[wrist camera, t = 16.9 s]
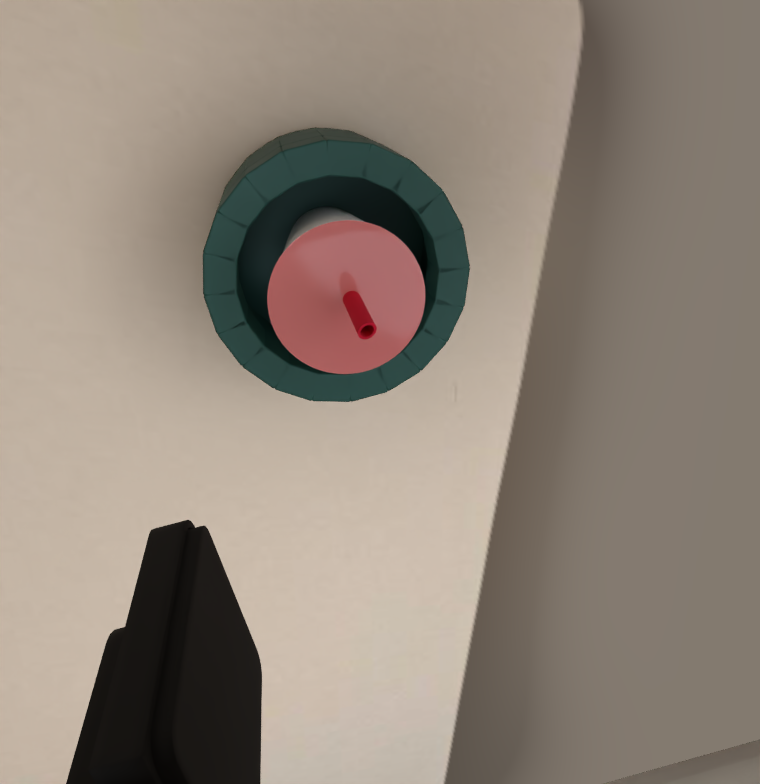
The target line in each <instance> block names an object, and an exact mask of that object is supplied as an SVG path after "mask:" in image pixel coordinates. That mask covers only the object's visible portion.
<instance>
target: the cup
mask: <svg viewBox="0 0 760 784" xmlns="http://www.w3.org/2000/svg"><path fill="white" fill-rule="evenodd" d="M267 304H268V312H269V317H270V320H271V323H272V326H273V329H274V331H275V333H276V335H277V336H278V338H279V340H280V341H281V343H282V344H283V345H284V346H285V348H286V349H287V350H288V351H289V352H290V353H291V354H292V355H293V356H295V357H296V358H297V359H299V360H300V361H302V362H303V363H305V364H307V365H309V366H311V367H313V368H315V369H318V370H321V371H325V372H329V373H336V374H353V373H360V372H364V371H368V370H371V369H374V368H376V367H379V366H381V365H383V364H384V363H386V362H388V361H389V360H391V359H392V358H394V357H395V356H396V355H397V354H399V353H400V352H401V351H402V350H403V349H404V348H405V347H406V346H407V344H408V343H409V342H410V340H411V339H412V338H413V336H414V334H415V333H416V331H417V329H418V327H419V324H420V322H421V319H422V316H423V312H424V307H425V284H424V279H423V275H422V272H421V269H420V266H419V264H418V262H417V260H416V258H415V257H414V255H413V254H412V252H411V251H410V249H409V248H408V247H407V246H406V245H405V244H404V243H403V242H402V241H401V240H400V239H399V238H398V237H396V236H395V235H394V234H392V233H391V232H389V231H387V230H386V229H384V228H382V227H379V226H377V225H374V224H371V223H367V222H364V221H362V220H361V219H359V218H357V217H355V216H353V215H352V214H350V213H348V212H345V211H343V210H341V209H338V208H335V207H318V208H314V209H312V210H310V211H308V212H306V213H305V214H303V215H302V216H301V217H300V218H299V219H298V220H297V221H296V223H295V224H294V226H293V228H292V230H291V233H290V235H289V237H288V240H287V242H286V245H285V248H284V251H283V253H282V255H281V256H280V258H279V259H278V261H277V263H276V265H275V267H274V269H273V272H272V274H271V277H270V281H269V286H268V294H267Z"/></svg>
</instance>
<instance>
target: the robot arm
mask: <svg viewBox="0 0 760 784" xmlns="http://www.w3.org/2000/svg"><path fill="white" fill-rule="evenodd" d="M261 697H262V671H261V664H260V659H259V655H258V652H257V649H256V646H255V644H254V641H253V639H252V636H251V634H250V632H249V629H248V627H247V624H246V622H245V619H244V617H243V614H242V612H241V609H240V607H239V604H238V602H237V599H236V597H235V595H234V592H233V590H232V587H231V585H230V582H229V580H228V577H227V575H226V572H225V570H224V567H223V565H222V562H221V560H220V557H219V555H218V553H217V550H216V548H215V545H214V543H213V540H212V538H211V535H210V533H209V531H208V529H207V528H206V526H200V527H197V528H195V526H194V525H193V523H192V522H191V521H189V520H186V521H182V522H178V523H174V524H170V525H167V526H163V527H159V528H155V529H153V530H151V532H150V534H149V537H148V541H147V545H146V549H145V552H144V556H143V560H142V564H141V568H140V572H139V576H138V579H137V583H136V587H135V591H134V595H133V599H132V603H131V607H130V610H129V614H128V618H127V622H126V626H125V627H123V628H120V629H116V630H114V631H113V632H112V633H111V634H110V636H109V638H108V640H107V643H106V646H105V649H104V653H103V656H102V660H101V663H100V667H99V670H98V674H97V677H96V681H95V684H94V688H93V691H92V695H91V698H90V702H89V705H88V709H87V712H86V716H85V720H84V723H83V727H82V730H81V734H80V737H79V741H78V744H77V748H76V751H75V755H74V758H73V762H72V765H71V769H70V772H69V776H68V779H67V783H66V784H260V762H261ZM604 784H760V740H757V741H753V742H749V743H746V744H742V745H739V746H736V747H732V748H728V749H725V750H721V751H718V752H714V753H710V754H707V755H703V756H700V757H696V758H693V759H689V760H686V761H682V762H678V763H675V764H672V765H668V766H664V767H661V768H657V769H654V770H650V771H646V772H643V773H639V774H636V775H632V776H629V777H625V778H622V779H618V780H615V781H611V782H608V783H604Z"/></svg>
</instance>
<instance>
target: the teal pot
mask: <svg viewBox="0 0 760 784" xmlns="http://www.w3.org/2000/svg"><path fill="white" fill-rule="evenodd" d="M318 207H335V208H338V209H341V210H343V211H345V212H348V213H350V214H352V215H353V216H355V217H357V218H359V219H361V220H362V221H364V222H367V223H371V224H374V225H377V226H379V227H382V228H384V229H386V230H387V231H389V232H391V233H392V234H394V235H395V236H396V237H398V238H399V239H400V240H401V241H402V242H403V243H404V244H405V245H406V246H407V247H408V248H409V249H410V251H411V252H412V254H413V255H414V257H415V258H416V260H417V262H418V264H419V266H420V269H421V272H422V275H423V279H424V284H425V307H424V312H423V316H422V319H421V322H420V324H419V327H418V329H417V331H416V333H415V334H414V336H413V338H412V339H411V340H410V342H409V343H408V344H407V346H406V347H405V348H404V349H403V350H402V351H401V352H400V353H399V354H397V355H396V356H395V357H394V358H392V359H391V360H389V361H388V362H386V363H384V364H383V365H381V366H379V367H376V368H374V369H371V370H368V371H364V372H360V373H353V374H336V373H329V372H325V371H321V370H318V369H315V368H313V367H311V366H309V365H307V364H305V363H303V362H302V361H300V360H299V359H297V358H296V357H295V356H293V355H292V354H291V353H290V352H289V351H288V350H287V349H286V348H285V346H284V345H283V344H282V343H281V341H280V340H279V338H278V336H277V335H276V333H275V331H274V329H273V326H272V323H271V320H270V317H269V312H268V304H267V294H268V286H269V281H270V277H271V274H272V272H273V269H274V267H275V265H276V263H277V261H278V259H279V258H280V256H281V255H282V253H283V251H284V248H285V245H286V242H287V240H288V237H289V235H290V233H291V230H292V228H293V226H294V224H295V223H296V221H297V220H298V219H299V218H300V217H301V216H302V215H303V214H305V213H306V212H308V211H310V210H312V209H314V208H318ZM203 252H204V253H203V294H204V298H205V301H206V304H207V307H208V310H209V313H210V316H211V318H212V321H213V324H214V327H215V330H216V332H217V334H218V336H219V337H220V339H221V340H222V341H223V343H224V344H225V345H226V346H227V348H228V349H229V350H230V352H231V353H232V354H233V356H234V357H235V358H236V359H237V361H238V362H239V363H240V365H243V368H245V369H246V370H248V371H249V372H251V373H252V374H254V375H255V376H256V377H258V378H259V379H261V380H262V381H264V382H265V383H266V384H268V385H269V386H271V387H272V388H275V389H276V390H279V391H282V392H285V393H288V394H291V395H294V396H298V397H301V398H304V399H307V400H310V401H311V400H312V401H338V402H350V401H356V400H359V399H363V398H367V397H370V396H374V395H378V394H381V393H385V392H387V391H389V390H391V389H393V388H394V387H396V386H398V385H399V384H401V383H403V382H404V381H406V380H407V379H409V378H411V377H412V376H414V375H416V374H417V373H419V372H420V370H423V368H424V367H425V366H426V365H427V364H428V363H429V362H430V361H431V360H432V359H433V357H434V356H435V355H436V354H437V353H438V352H439V351H440V350H441V349H442V347H443V346H444V345H445V344H446V342H447V341H448V340H449V338H450V335H451V333H452V331H453V329H454V327H455V325H456V323H457V321H458V319H459V316H460V314H461V312H462V310H463V307H464V305H465V298H466V291H467V284H468V277H469V270H470V268H469V266H470V265H469V259H468V254H467V248H466V242H465V236H464V231H463V228H462V224H461V223H460V221H459V219H458V217H457V215H456V213H455V211H454V210H453V208H452V206H451V204H450V202H449V200H448V198H447V197H446V195H445V193H444V191H442V189H441V188H440V187H439V186H438V185H437V184H436V183H435V182H434V181H433V180H432V179H431V178H430V177H428V176H427V175H426V174H425V173H424V172H423V171H422V170H421V169H420V168H419V167H418V166H417V165H416V164H414V163H413V162H412V161H410V160H409V159H407V158H405V157H404V156H402V155H400V154H398V153H396V152H394V151H393V150H391V149H389V148H387V147H385V146H384V145H382V144H379V143H377V142H375V141H373V140H370V139H368V138H366V137H364V136H361V135H359V134H357V133H355V132H352V131H348V130H340V129H330V128H310V129H306V130H300V131H295V132H292V133H289V134H286V135H283V136H279V137H277V138H276V139H274V140H273V141H271V142H269V143H267V144H266V145H264V146H263V147H261V148H260V149H258V150H257V151H255V152H254V153H253V154H252V155H250V156H249V157H248V158H247V159H246V160H245V161H244V163H243V164H242V165H241V166H240V168H239V169H238V170H237V171H236V172H235V174H234V176H233V177H232V178H231V180H230V181H229V182H228V184H227V185H226V187H225V190H224V192H223V195H222V198H221V201H220V203H219V206H218V209H217V212H216V215H215V218H214V221H213V224H212V227H211V230H210V233H209V236H208V239H207V242H206V245H205V248H204V251H203Z"/></svg>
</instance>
